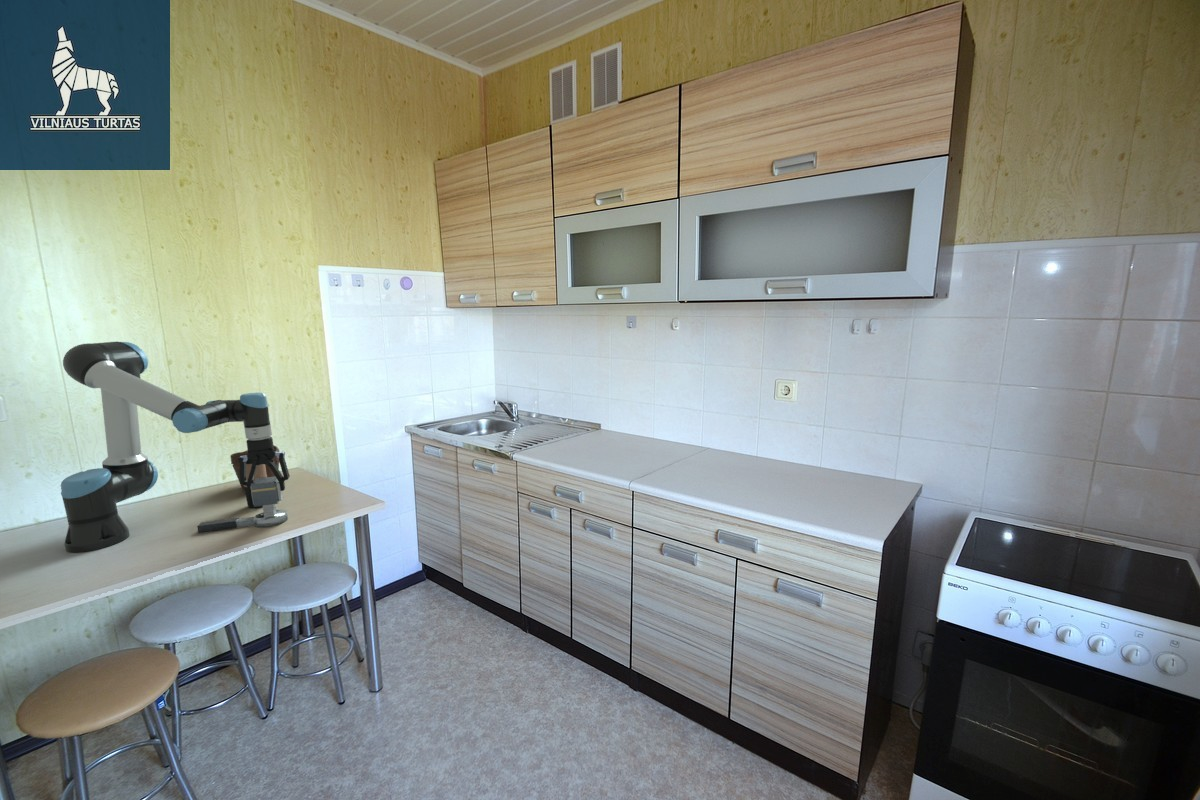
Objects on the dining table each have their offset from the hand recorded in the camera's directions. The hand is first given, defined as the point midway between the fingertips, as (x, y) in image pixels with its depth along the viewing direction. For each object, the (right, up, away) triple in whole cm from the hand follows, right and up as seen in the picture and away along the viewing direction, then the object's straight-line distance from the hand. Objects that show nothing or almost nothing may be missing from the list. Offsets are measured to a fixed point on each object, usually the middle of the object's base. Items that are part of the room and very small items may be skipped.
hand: (268, 501), depth 180 cm
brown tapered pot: (-29, -2, +40) cm, 50 cm away
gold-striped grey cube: (0, 0, 0) cm, 0 cm away
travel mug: (-15, -5, +18) cm, 24 cm away
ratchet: (-7, -8, -1) cm, 11 cm away
